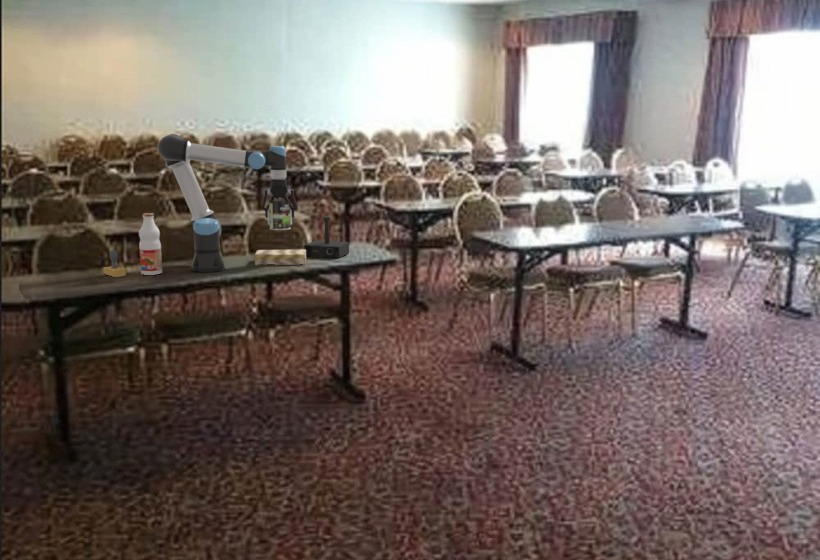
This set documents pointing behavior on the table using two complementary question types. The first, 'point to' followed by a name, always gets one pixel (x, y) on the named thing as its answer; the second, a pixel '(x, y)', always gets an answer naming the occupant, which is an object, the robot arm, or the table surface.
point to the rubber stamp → (114, 266)
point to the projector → (327, 246)
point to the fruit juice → (150, 246)
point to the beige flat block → (281, 257)
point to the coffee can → (279, 214)
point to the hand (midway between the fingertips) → (280, 224)
